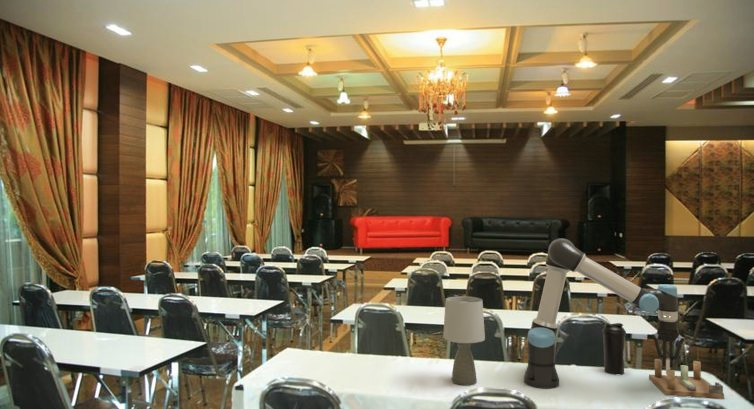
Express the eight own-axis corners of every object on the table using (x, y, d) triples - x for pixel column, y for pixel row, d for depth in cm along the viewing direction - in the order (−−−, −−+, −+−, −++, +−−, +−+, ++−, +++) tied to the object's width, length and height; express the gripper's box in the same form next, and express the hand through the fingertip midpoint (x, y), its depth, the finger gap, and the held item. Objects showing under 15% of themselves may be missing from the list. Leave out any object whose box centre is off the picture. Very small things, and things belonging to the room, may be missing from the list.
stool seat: (665, 395, 222) (665, 372, 222) (649, 378, 243) (648, 357, 243) (724, 398, 218) (723, 375, 218) (701, 381, 239) (701, 360, 239)
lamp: (435, 381, 239) (434, 299, 240) (458, 372, 253) (458, 294, 253) (470, 391, 227) (470, 304, 227) (493, 381, 240) (492, 299, 241)
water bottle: (628, 375, 248) (628, 326, 248) (605, 374, 250) (604, 325, 250) (623, 369, 257) (622, 321, 258) (600, 368, 259) (600, 320, 260)
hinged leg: (697, 390, 221) (697, 373, 221) (689, 390, 221) (689, 372, 221) (687, 382, 232) (687, 365, 232) (679, 381, 232) (679, 364, 232)
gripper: (650, 320, 234) (650, 373, 234) (684, 323, 227) (684, 378, 227) (652, 317, 241) (652, 369, 241) (685, 320, 234) (685, 374, 233)
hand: (668, 373), depth 234 cm, fingers closed
